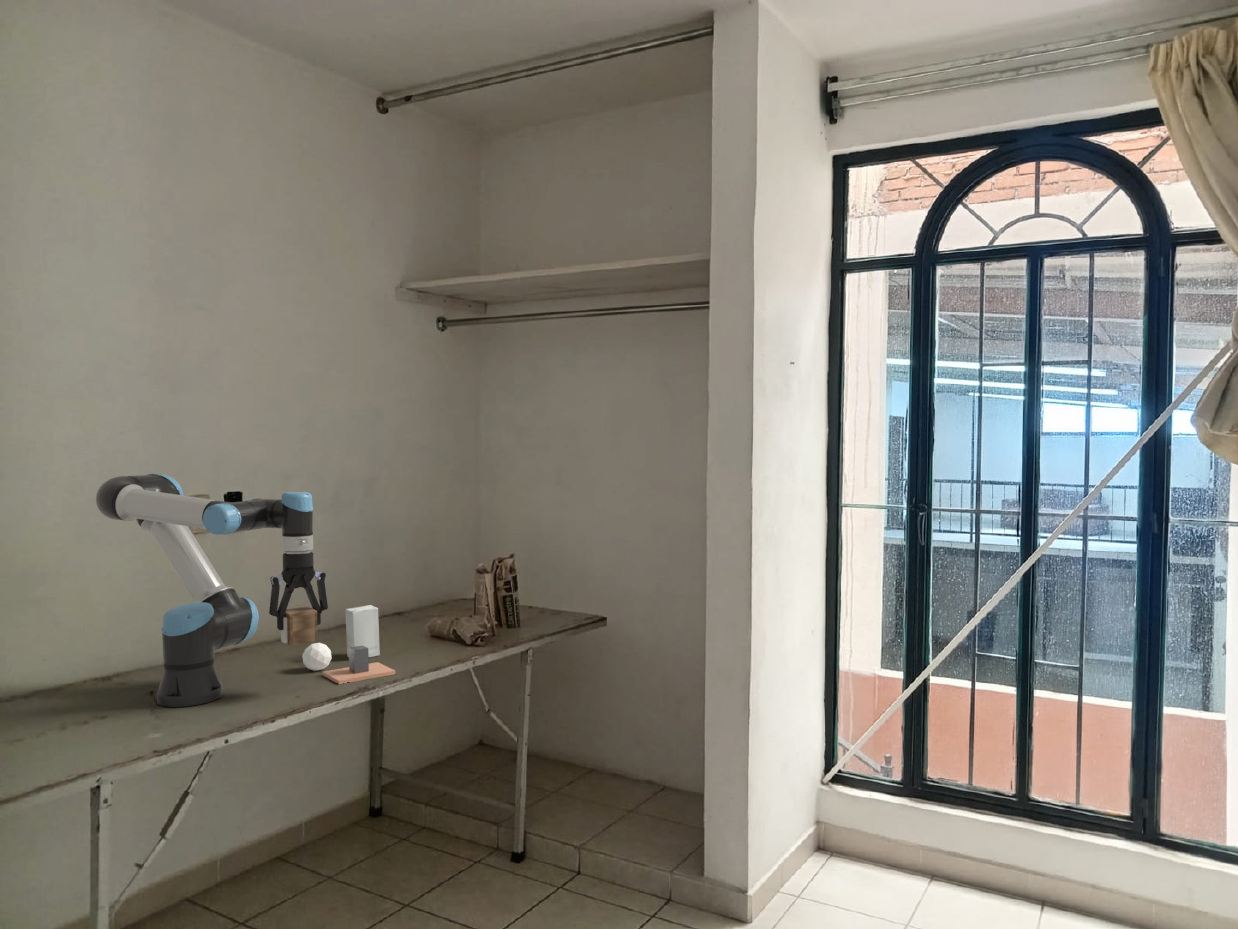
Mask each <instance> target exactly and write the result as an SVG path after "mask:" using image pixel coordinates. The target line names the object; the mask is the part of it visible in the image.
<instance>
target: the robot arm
mask: <svg viewBox="0 0 1238 929" xmlns="http://www.w3.org/2000/svg"><path fill="white" fill-rule="evenodd" d="M95 503H96V506H97V509H98V510H99V512H100V513H101V514H102V515H103V516H104V517H107V519H108V518H109V519H111V520H115V521H118V520H119V521H124V522H134V521H136V522H137V524H138V526H139V527H140V528H141V530H142V531H144V532H150V533H151V534H152V536H153V538H154V540H155V541H156V543H157V545H158V546H159V547H160V549H161V551H162V553H163V554H164V556H165V557H166V559H167V561H168V562H169V565H171V567H172V569H173V570H174V572H175V573H176V575H177V577H178V578H179V581H180V582H181V584H182V585H183V587H184V588H185V590H186V591H187V593H188V595H189V596H190V598H191V600H192V601H193V602H191V603H188V604H185V603H184V604H181V605H177V606H175V607H172V608H170V609H169V610H167V611H166V612H165V613H164V614H163V617H162V627H161V633H162V653H163V655H162V656H163V674H162V676H161V679H160V682H159V685H158V689H157V692H156V704H157V705H158V706H161V707H169V708H184V707H192V706H199V705H204V704H207V703H210V702H214V701H217V700H218V699H220V698H221V697H223V695H224V693H223V692H224V691H223V689H224V687H223V683H222V681H221V679H220V676H219V674H218V671H217V669H216V665H215V651H216V650H217V651H218V650H220V649H224V648H227V647H230V646H235V645H239V644H241V643H243V642H244V641H247V640H249V639H250V638H252V636H253V635H254V634H255V633H256V631H257V629H258V627H259V625H258V622H259V621H260V618H259V617H260V616H259V611H258V608H257V606H256V603H254V602H253V601H252V600H251V599H250V598H247V597H243V596H241V597H240V596H239V594H238V592H237V591H236V590H235V588H234V587H232V586H231V587H230V586H226V585H225V583H224V581H223V580H222V578H221V576H219V574H218V572H217V570H216V569H215V568H214V566H213V564H212V563H211V562H210V559H209V558H208V556H207V555H206V553H205V551H204V550H203V548H202V547H201V545H200V543H199V541H197V539H196V537H195V536H194V533H193V532H192V530H191V529H190V527H191V528H196V529H202V530H207V531H208V532H209V533H210V534H213V535H217V536H218V535H230V534H234V533H239V532H249V531H252V530H253V531H254V530H261V529H281V534H282V539H281V540H282V541H281V543H282V544H281V545H282V549H281V550H282V551H283V552H284V553H282V572H281V573H280V574H279V575H277V576H270V578H269V579H270V584H271V592H270V600H269V611H268V613H269V615H270V616H272V617H275V618H276V624H277V625H276V628H277V630H278V631H280V642H281V643H283V644H287V643H288V641H287V617H285V616H284V615H285V612H286V609H288V607H289V603H290V600H291V597H292V594H293V593H294V591H295V589H300V588H303V589H304V590H305V593H306V596H307V597H308V600H309V602H310V606H311V608H312V609H314V610H317V626H320V625H321V624H322V623H321V620H322V617H321V614H322V613H323V611H326V610H328V609H329V606H328V597H327V589H326V584H325V583H326V582H325V581H326V576H327V574H326V573H325V572H323V571H315V569H314V564H315V562H314V553H313V550H314V532H313V531H314V530H313V525H314V524H313V522H314V520H313V519H314V506H313V496H312V494H311V493H310V492H309V491H287V492H283V493H282V494H281V499H272V498H271V499H269V498H250V499H246V500H245V501H235V502H234V501H233V502H231V501H222V500H215V499H209V498H202V497H195V496H188V495H184V491H183V489H182V486H181V485H180V483H179V482H178V481H177V480H176V479H175V478H174V477H172V476H170V475H167V474H158V473H150V474H149V473H148V474H144V475H143V474H142V475H120V476H115V477H112V478H109V479H108V480H106V481H105V482H102V484H101V485H100V487H99V488H98V490H97V492H96V495H95ZM314 578H315V580H316V584H317V585H316V586H317V593H318V594H317V596H318V598H317V596H316V594H315V592H314V589H313V585H312V583H311V582H312V581H313V579H314ZM282 580H283V581H284V582H285V586H284V590H283V594H282V597H281V600H280V601H279V599H280V598H279V597H280V587H281V586H280V585H281V584H282ZM317 639H318V636H317Z"/></svg>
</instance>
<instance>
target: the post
mask: <svg viewBox="0 0 1238 929" xmlns="http://www.w3.org/2000/svg"><path fill="white" fill-rule="evenodd" d="M369 658H370V657H369V655H368V648H367V647H365V646H363V645H362V646H356V647H350V648H349V657H348V667H349V671H350V672H352V673H354V674H357V673H362V672H368V671H369V664H370V662H369Z"/></svg>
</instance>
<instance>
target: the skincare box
mask: <svg viewBox="0 0 1238 929" xmlns="http://www.w3.org/2000/svg"><path fill="white" fill-rule="evenodd" d="M344 612H345V630H346V632H345V633H346V654H347V655H346V656H347V657H348V658H349V648H350V647H356V646H362V645H363V646H365V647H367V648H368V655H369V658H373V657H379V656H380V655H381V654H380V653H381V652H380V631H379V630H380V628H379V626H380V625H379V608H378V607H376V606H374V605H372V604H369V605H368V604H367V605H363V606H356V607H350V608H345V610H344Z"/></svg>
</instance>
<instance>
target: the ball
mask: <svg viewBox="0 0 1238 929" xmlns="http://www.w3.org/2000/svg"><path fill="white" fill-rule="evenodd" d="M301 655H302V657H301V658H302V663H303V665H304V666H305V667H306V668H307V669H308V670H311V671H313V672H317V671H323V669H325V668H327V667H328V666H329V664H330V663H331V660H332V651H331V649H330V648H329V647H328V646H327V644H325V643H322V642H314V643H311V644H310V645H308V646H307V647H306V648H305V649H304V651H303V653H302V654H301Z"/></svg>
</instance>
